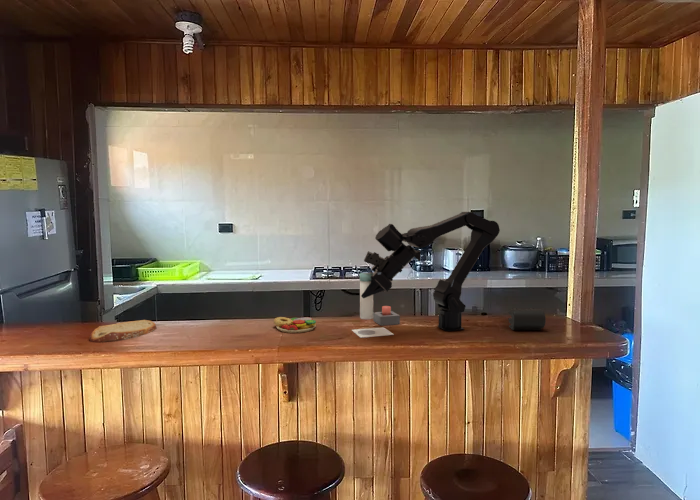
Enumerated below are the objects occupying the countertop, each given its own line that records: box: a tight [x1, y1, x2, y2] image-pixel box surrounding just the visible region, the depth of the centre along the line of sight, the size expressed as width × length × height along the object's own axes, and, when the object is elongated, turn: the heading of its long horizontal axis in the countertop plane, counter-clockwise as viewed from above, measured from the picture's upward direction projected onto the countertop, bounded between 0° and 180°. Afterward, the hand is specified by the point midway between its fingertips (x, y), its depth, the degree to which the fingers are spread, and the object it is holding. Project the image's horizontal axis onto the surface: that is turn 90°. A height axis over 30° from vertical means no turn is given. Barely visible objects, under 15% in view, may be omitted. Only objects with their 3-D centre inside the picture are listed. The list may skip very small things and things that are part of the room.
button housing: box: [372, 310, 401, 326], centre depth 170 cm, size 7×7×3 cm
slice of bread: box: [89, 319, 158, 344], centre depth 157 cm, size 18×18×4 cm
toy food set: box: [273, 316, 317, 334], centre depth 163 cm, size 13×13×3 cm
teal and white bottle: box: [359, 272, 374, 320], centre depth 156 cm, size 4×4×14 cm
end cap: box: [508, 307, 547, 331], centre depth 161 cm, size 10×7×7 cm
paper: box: [351, 327, 395, 339], centre depth 157 cm, size 11×9×1 cm
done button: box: [381, 305, 392, 316], centre depth 170 cm, size 3×3×4 cm
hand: (362, 295), depth 156 cm, fingers closed on teal and white bottle, 4 cm apart
